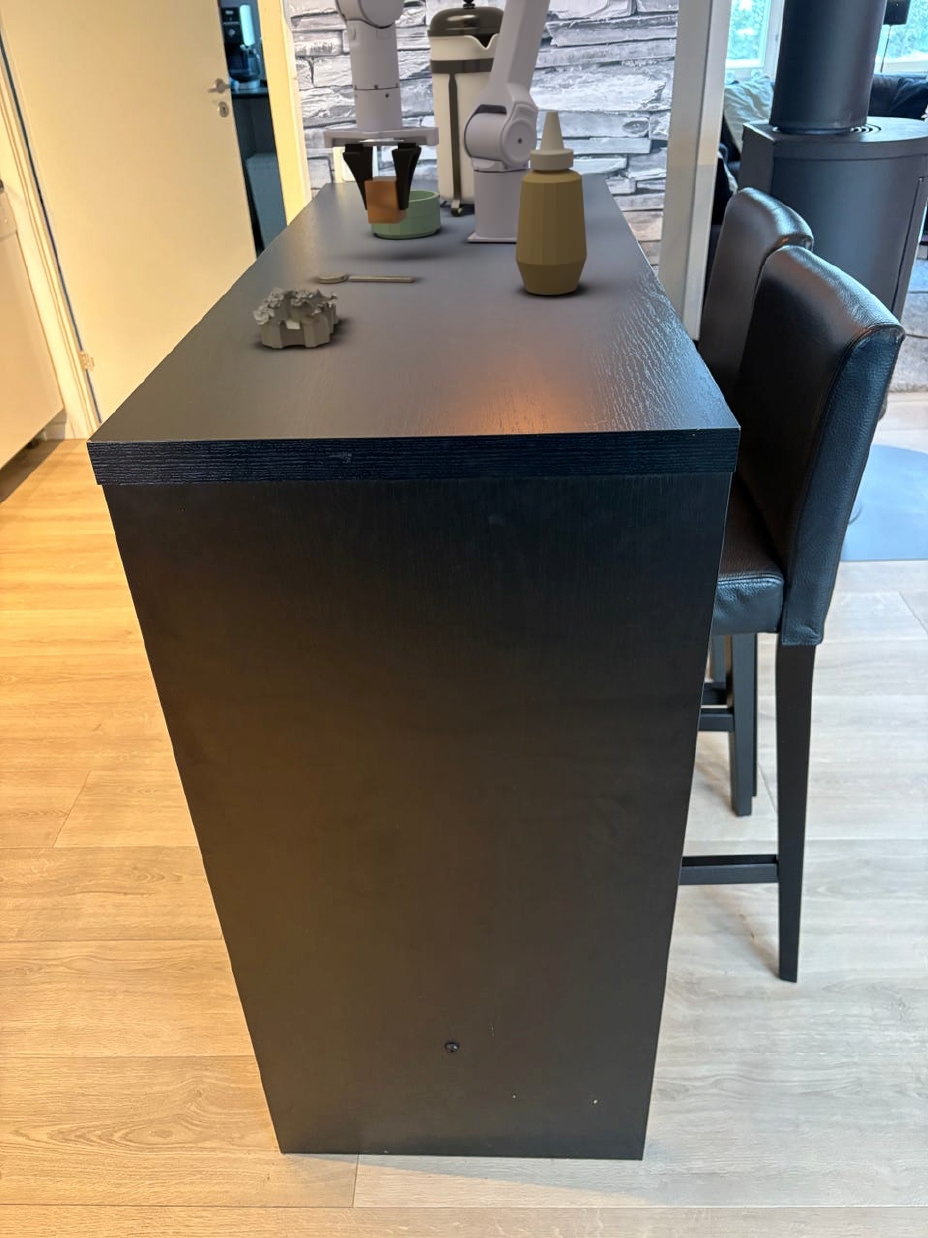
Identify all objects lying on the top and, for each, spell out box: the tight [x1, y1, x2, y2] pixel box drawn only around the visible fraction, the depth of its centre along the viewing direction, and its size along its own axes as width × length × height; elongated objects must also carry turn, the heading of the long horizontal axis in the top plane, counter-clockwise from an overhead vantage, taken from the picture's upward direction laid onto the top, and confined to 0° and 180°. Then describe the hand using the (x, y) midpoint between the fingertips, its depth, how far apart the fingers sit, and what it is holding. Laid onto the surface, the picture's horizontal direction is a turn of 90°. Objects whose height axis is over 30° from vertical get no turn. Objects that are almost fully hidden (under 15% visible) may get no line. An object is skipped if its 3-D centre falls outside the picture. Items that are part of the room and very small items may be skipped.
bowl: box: [370, 189, 442, 240], centre depth 136 cm, size 10×10×5 cm
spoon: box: [316, 270, 415, 284], centre depth 114 cm, size 12×4×1 cm, turn 76°
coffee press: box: [426, 0, 504, 217], centre depth 144 cm, size 17×16×30 cm
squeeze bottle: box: [515, 110, 588, 296], centre depth 102 cm, size 8×8×18 cm
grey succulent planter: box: [252, 286, 339, 349], centre depth 95 cm, size 11×8×4 cm
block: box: [365, 175, 407, 224], centre depth 120 cm, size 4×4×5 cm
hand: (386, 208), depth 120 cm, fingers closed on block, 4 cm apart
